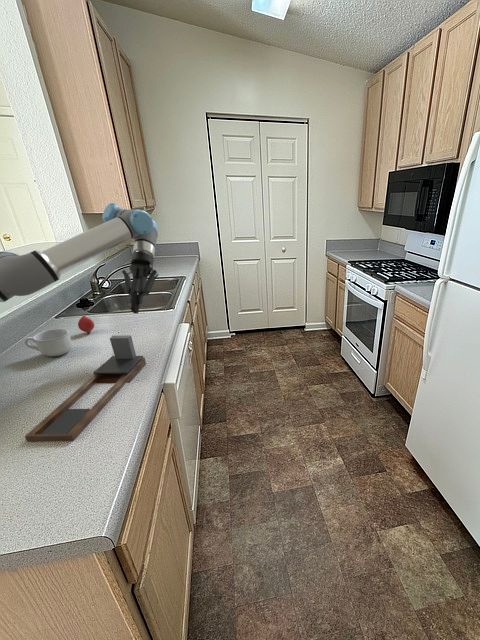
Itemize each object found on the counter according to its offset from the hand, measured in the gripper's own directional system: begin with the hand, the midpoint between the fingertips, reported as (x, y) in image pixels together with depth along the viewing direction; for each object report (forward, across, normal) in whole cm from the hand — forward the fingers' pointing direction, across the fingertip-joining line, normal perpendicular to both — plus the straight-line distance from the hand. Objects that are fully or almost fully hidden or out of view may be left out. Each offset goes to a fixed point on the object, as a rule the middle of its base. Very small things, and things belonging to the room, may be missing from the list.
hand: (134, 311), depth 119 cm
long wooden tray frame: (+34, 0, +12) cm, 36 cm away
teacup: (+12, +33, -10) cm, 37 cm away
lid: (+22, 0, +4) cm, 22 cm away
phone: (+43, 0, +23) cm, 49 cm away
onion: (-3, +32, -25) cm, 40 cm away
